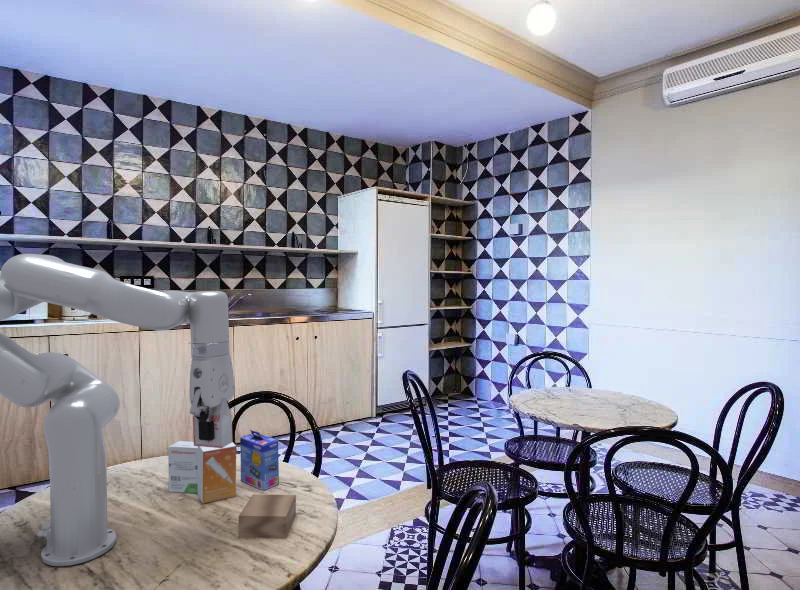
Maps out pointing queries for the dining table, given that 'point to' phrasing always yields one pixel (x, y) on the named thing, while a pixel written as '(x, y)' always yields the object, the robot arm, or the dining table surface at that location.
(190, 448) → the ink box
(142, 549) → the dining table surface
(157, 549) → the dining table surface
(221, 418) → the white carton
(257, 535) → the base block
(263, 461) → the ink cartridge box
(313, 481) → the dining table surface
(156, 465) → the dining table surface
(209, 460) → the small box
